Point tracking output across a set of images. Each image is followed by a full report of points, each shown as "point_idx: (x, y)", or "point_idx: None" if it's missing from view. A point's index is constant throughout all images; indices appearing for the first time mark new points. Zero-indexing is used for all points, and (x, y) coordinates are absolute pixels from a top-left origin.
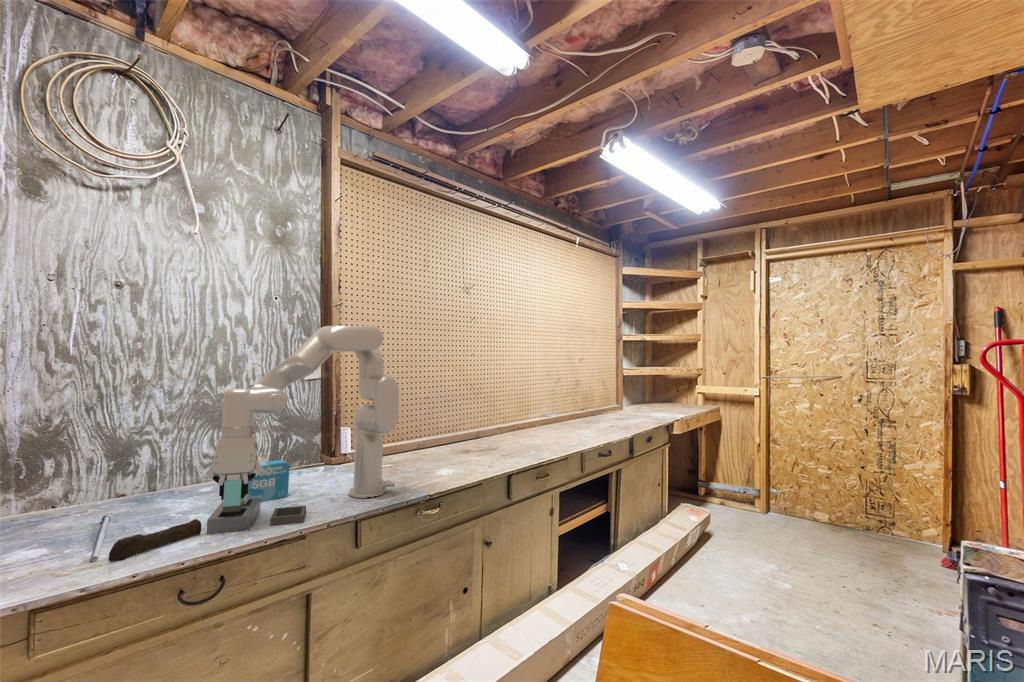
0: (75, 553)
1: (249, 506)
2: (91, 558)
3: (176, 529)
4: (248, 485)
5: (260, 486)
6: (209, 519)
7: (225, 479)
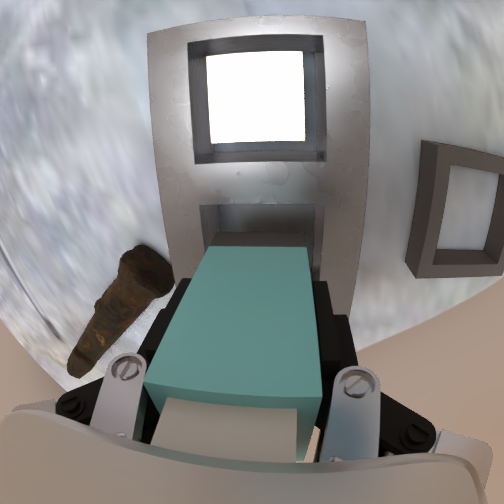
0: (12, 291)
1: (332, 179)
2: (47, 324)
3: (121, 328)
4: (355, 354)
5: None
6: None
7: (146, 396)
